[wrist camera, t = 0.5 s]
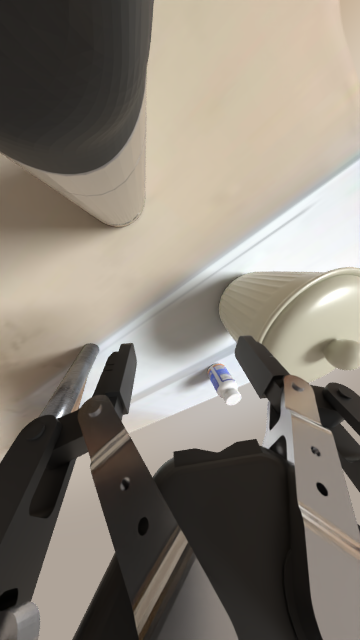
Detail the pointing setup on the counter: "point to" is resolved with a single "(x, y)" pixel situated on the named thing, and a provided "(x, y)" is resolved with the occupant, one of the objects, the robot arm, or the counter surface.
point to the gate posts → (72, 383)
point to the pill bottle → (224, 384)
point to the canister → (299, 318)
